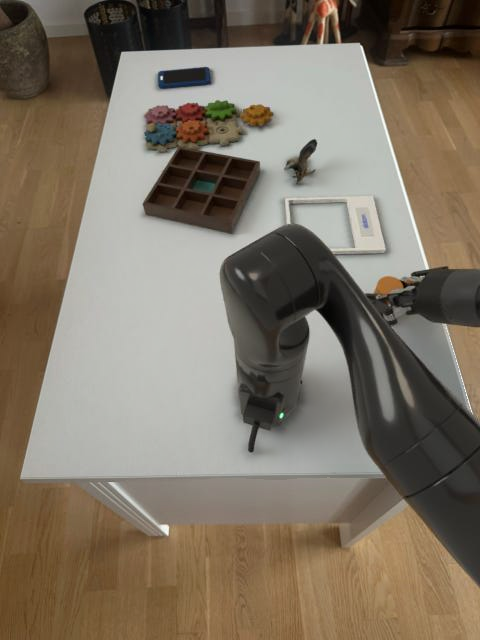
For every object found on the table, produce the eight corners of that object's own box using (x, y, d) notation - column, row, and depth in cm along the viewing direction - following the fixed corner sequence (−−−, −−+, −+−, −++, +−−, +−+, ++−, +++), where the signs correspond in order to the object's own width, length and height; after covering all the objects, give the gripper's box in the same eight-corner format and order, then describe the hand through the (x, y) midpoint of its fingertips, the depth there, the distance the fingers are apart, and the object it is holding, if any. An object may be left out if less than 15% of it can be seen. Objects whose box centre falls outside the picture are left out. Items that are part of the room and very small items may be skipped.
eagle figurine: (324, 181, 93) (324, 148, 96) (308, 161, 88) (309, 126, 91) (292, 193, 97) (293, 161, 101) (275, 174, 92) (277, 141, 95)
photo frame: (385, 249, 82) (289, 251, 83) (384, 253, 83) (289, 255, 84) (373, 195, 90) (285, 197, 91) (372, 199, 91) (284, 201, 92)
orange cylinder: (388, 326, 75) (401, 299, 68) (365, 320, 76) (375, 292, 69) (392, 307, 77) (404, 279, 70) (369, 301, 78) (379, 273, 71)
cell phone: (158, 73, 120) (158, 71, 119) (209, 69, 120) (209, 66, 120) (158, 88, 116) (158, 85, 116) (211, 84, 116) (210, 81, 116)
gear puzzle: (269, 102, 111) (269, 86, 108) (278, 141, 103) (279, 125, 99) (145, 113, 111) (142, 98, 107) (145, 154, 102) (141, 139, 98)
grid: (232, 233, 88) (231, 223, 85) (145, 214, 91) (142, 203, 89) (260, 172, 97) (260, 161, 95) (180, 157, 101) (178, 146, 98)
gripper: (436, 350, 57) (353, 334, 73) (505, 295, 61) (412, 291, 77) (417, 300, 55) (335, 294, 71) (489, 246, 59) (397, 252, 75)
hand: (375, 292), depth 74 cm, fingers closed on orange cylinder, 4 cm apart
